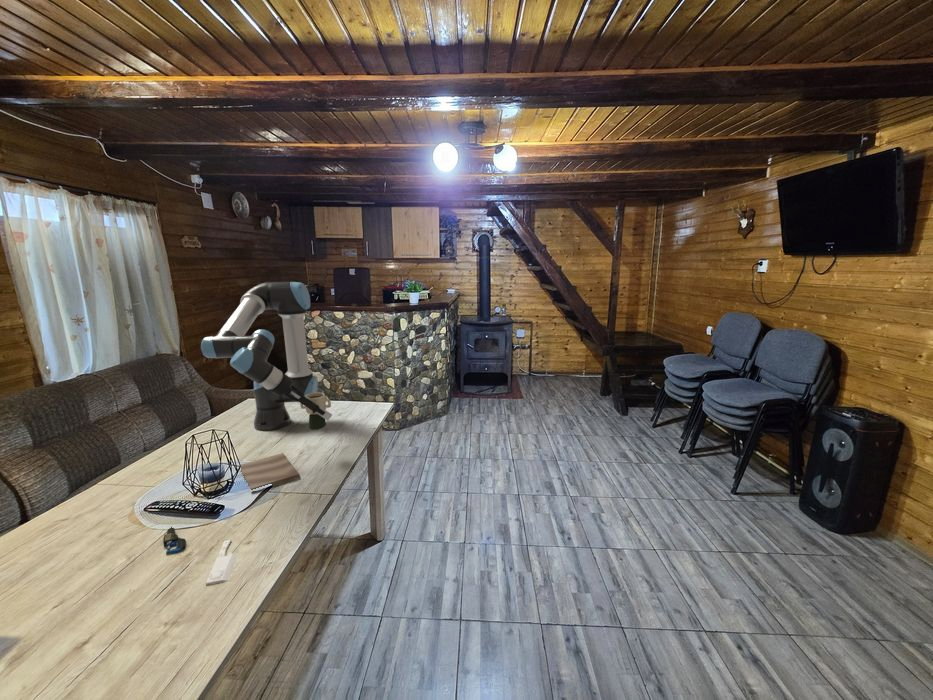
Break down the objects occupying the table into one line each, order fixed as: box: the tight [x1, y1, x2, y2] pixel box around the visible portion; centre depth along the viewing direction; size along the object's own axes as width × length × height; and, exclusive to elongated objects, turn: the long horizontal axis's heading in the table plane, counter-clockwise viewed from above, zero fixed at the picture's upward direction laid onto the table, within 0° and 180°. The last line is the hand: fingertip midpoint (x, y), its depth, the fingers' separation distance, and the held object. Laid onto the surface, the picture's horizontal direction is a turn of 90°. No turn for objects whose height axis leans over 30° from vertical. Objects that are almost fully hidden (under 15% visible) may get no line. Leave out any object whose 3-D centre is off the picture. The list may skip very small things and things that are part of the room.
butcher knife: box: [205, 539, 239, 586], centre depth 99 cm, size 5×15×1 cm, turn 16°
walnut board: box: [240, 452, 300, 490], centre depth 140 cm, size 20×15×2 cm
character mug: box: [299, 391, 332, 431], centre depth 149 cm, size 11×7×13 cm, turn 98°
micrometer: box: [162, 526, 187, 555], centre depth 106 cm, size 12×2×5 cm
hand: (326, 414), depth 151 cm, fingers closed on character mug, 7 cm apart
